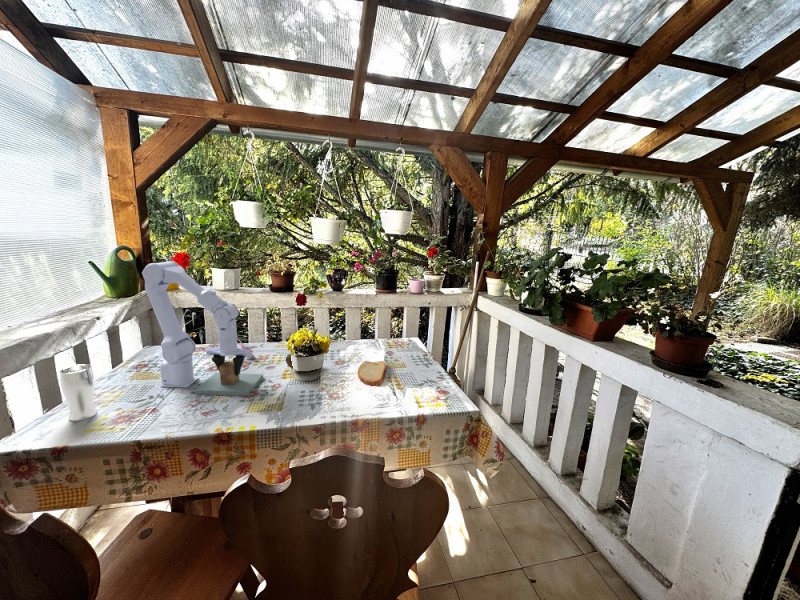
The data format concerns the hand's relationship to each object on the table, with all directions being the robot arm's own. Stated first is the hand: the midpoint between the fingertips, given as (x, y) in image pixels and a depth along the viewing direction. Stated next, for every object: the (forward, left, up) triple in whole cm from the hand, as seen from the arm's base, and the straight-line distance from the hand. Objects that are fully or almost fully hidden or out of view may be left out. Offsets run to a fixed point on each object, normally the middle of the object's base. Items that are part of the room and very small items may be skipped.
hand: (230, 374), depth 121 cm
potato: (+22, +15, -5) cm, 27 cm away
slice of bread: (+52, +14, -5) cm, 54 cm away
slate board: (0, 0, -4) cm, 4 cm away
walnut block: (0, 0, -3) cm, 3 cm away
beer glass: (-33, -22, -5) cm, 40 cm away
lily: (-6, +26, -5) cm, 27 cm away
